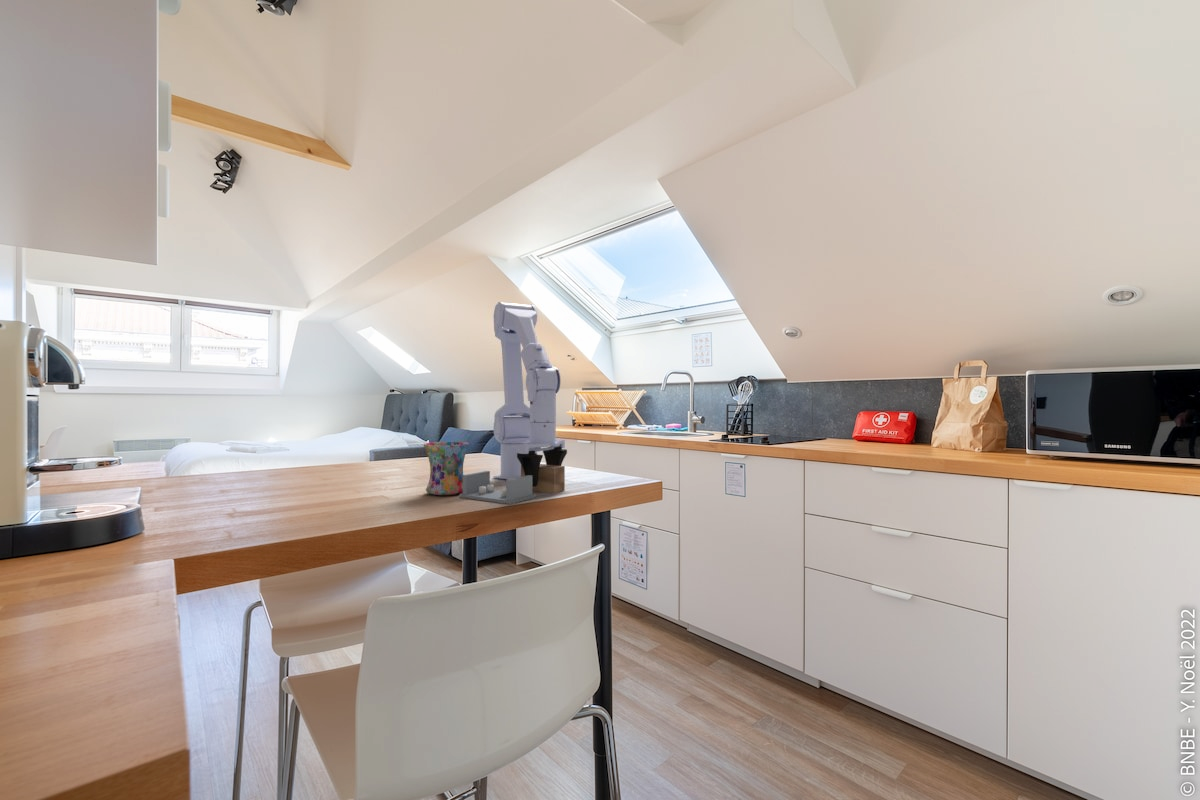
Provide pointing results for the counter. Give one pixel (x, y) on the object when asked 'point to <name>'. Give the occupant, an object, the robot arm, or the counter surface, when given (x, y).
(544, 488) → the shelf block
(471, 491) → the peg cradle
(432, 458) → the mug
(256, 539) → the counter surface
